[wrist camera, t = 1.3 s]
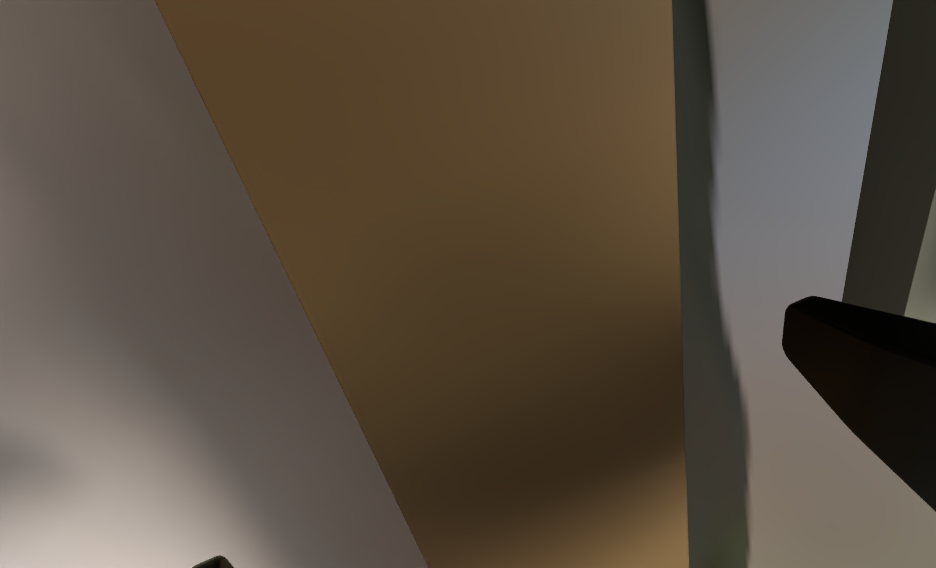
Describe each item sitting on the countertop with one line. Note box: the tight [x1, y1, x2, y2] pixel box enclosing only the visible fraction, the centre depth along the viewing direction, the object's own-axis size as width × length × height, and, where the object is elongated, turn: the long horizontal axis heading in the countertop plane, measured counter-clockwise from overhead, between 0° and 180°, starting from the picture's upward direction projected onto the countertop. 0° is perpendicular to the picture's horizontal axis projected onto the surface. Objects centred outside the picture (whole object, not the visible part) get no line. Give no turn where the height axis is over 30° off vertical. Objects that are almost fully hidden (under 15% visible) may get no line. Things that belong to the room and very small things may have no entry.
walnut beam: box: [155, 0, 689, 568], centre depth 10 cm, size 16×4×4 cm, turn 14°
